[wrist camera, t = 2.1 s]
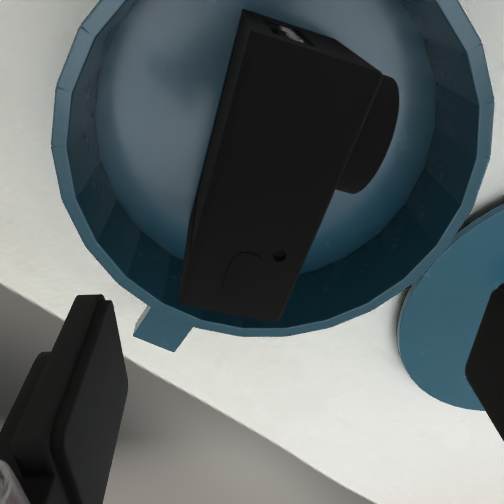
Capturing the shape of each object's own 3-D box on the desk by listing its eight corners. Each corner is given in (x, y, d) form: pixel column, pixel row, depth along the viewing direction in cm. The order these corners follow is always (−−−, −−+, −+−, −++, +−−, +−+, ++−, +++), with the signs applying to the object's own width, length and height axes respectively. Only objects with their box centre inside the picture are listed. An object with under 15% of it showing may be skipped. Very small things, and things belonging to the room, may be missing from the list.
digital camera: (286, 244, 25) (304, 332, 19) (188, 222, 24) (176, 308, 18) (363, 47, 20) (423, 84, 14) (242, 7, 19) (250, 29, 13)
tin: (16, 234, 24) (-24, 286, 20) (237, -295, 14) (242, -389, 10) (281, 349, 30) (289, 408, 26) (570, 26, 20) (653, 43, 16)
